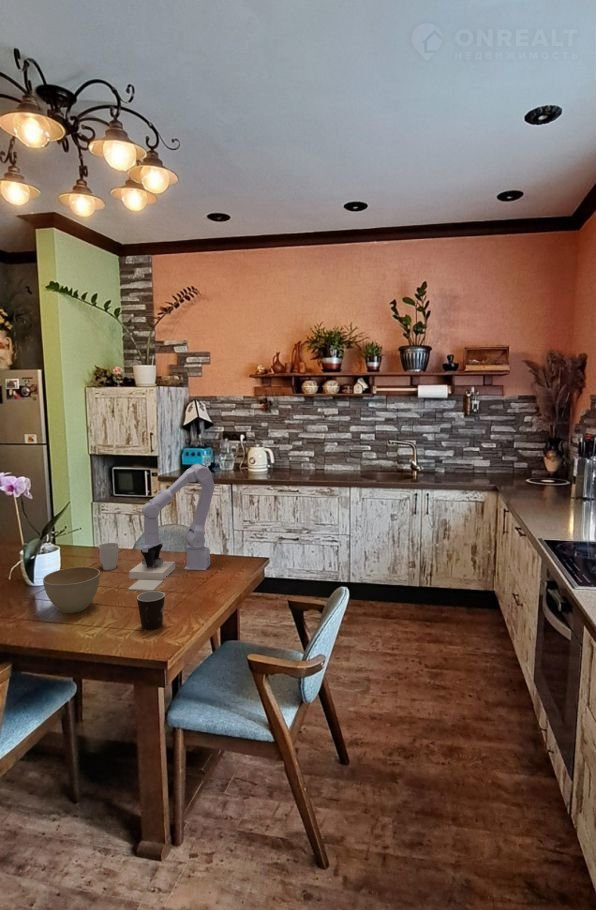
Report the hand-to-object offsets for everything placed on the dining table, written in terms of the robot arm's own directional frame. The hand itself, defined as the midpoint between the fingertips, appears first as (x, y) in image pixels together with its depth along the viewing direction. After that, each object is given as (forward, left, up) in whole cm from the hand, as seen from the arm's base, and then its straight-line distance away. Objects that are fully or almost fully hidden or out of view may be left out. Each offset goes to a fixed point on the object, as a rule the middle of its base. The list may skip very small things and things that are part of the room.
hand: (152, 564), depth 222 cm
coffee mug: (-19, +49, -4) cm, 53 cm away
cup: (+21, -4, -4) cm, 22 cm away
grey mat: (-3, +14, -4) cm, 15 cm away
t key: (0, 0, -4) cm, 4 cm away
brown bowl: (+13, +38, -4) cm, 40 cm away
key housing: (0, 0, -4) cm, 4 cm away
